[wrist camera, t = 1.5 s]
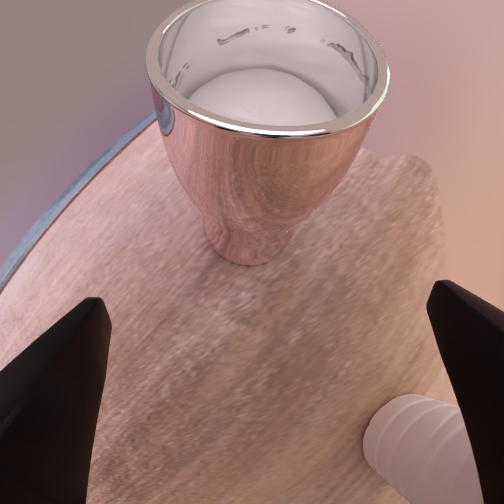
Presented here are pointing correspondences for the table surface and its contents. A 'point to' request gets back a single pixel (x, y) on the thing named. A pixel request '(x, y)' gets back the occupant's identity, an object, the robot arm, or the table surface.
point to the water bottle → (423, 451)
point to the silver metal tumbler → (262, 112)
